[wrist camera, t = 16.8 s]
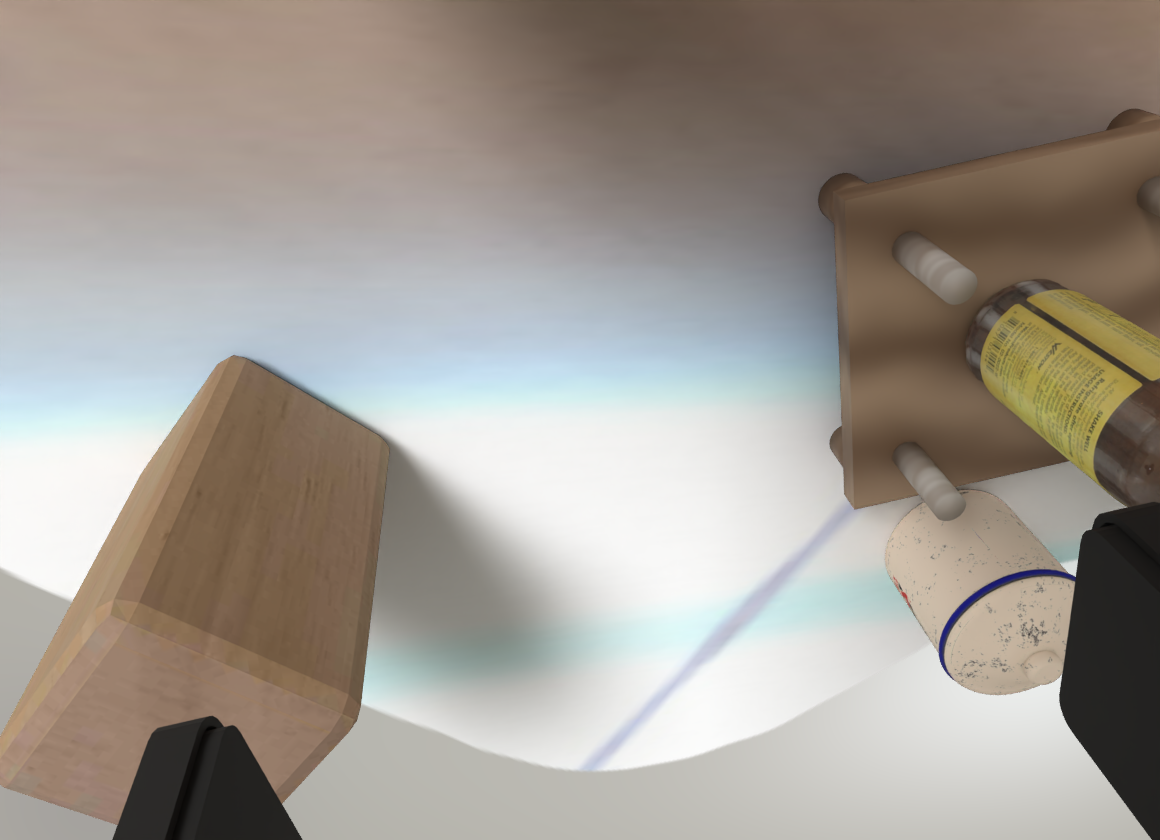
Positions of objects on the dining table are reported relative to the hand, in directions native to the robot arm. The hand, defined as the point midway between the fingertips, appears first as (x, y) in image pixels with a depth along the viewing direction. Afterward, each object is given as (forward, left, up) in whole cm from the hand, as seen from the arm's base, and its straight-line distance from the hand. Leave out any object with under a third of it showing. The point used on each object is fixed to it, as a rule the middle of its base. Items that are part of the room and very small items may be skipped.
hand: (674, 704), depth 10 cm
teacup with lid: (+34, +23, -36) cm, 55 cm away
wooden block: (+16, -17, -36) cm, 43 cm away
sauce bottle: (+16, +23, -32) cm, 42 cm away
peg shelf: (+16, +23, -36) cm, 46 cm away
